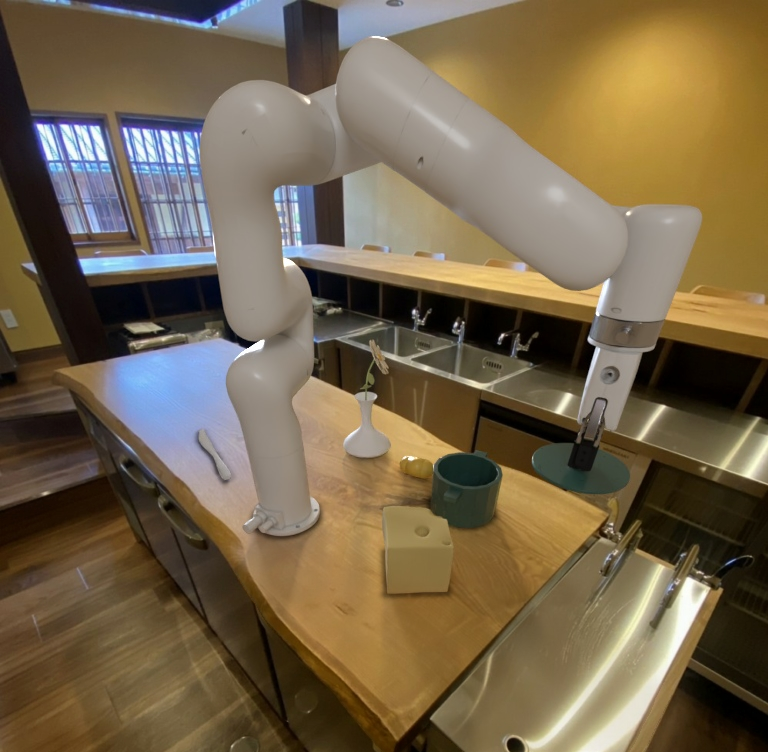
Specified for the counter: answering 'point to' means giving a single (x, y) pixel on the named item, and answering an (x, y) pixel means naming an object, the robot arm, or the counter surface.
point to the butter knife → (214, 455)
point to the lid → (600, 480)
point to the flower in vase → (368, 418)
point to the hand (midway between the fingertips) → (581, 461)
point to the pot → (465, 488)
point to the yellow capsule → (416, 467)
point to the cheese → (416, 550)
